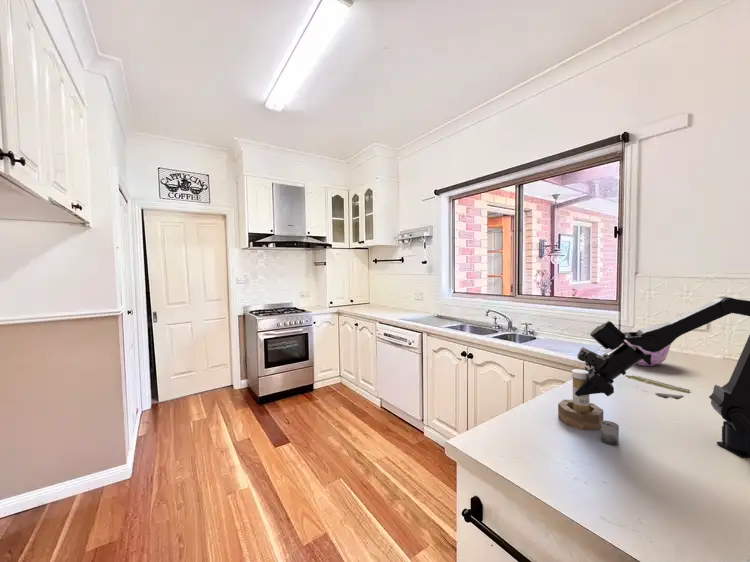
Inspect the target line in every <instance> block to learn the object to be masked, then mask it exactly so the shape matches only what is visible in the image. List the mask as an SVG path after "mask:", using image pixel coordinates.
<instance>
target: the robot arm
mask: <svg viewBox="0 0 750 562" xmlns="http://www.w3.org/2000/svg"><path fill="white" fill-rule="evenodd" d="M730 314H736V315H740V316H746V317H750V300H746V299H739V298H738V299H737V298H733V297H729V296H718V297H716V298H715V299H713V300H712V301H710V302H708V303H706V304H703V305H701V306H699V307H696V308H695V309H693V310H691V311H688V312H686V313H684V314H681V315H680V316H677V317H675V318H674V319H671V320H669V321H666V322H662V323H659V324H654V325H650V326H646V327H643V328H640V329H638V330H637V331H628V332H626V331H625V332H624V331H622V330H620V329H619V328H618V327H617V326H615V324H614V323H613V322H611V321H610V320H607V321H606V322H604V323H603V324H601V325H598V326H597V327H595V328H594V329H593V330H592V331H591V332H590V333H589V336H590V337H591V338H592V339H594V340H595V341H596V342H597V343H598V344H600V345H601V347H602V348H603V349H605V350H609V349H610V350H613V351H612V352H611V353H609V354H608V353H604V354H603V355H600V354H598V353H596V352H594V351H592V350H589V349H587V348H586V347H581V348H580V349H579V352H578V354H577V355H576V356H577V360H579V361H581V362H584V364H585V366H584V370H586V371H588V372H589V375H587V374H586V382H585V383H584V384H583V385H582V386H581V387H580V388H579V389H578V390H577V391H576V392H575V394H576V395H577V396H583V395H589V396H590V395H595V394H596V395H597V394H605V396H607V397H609V396H611V395H612V394H614V393H615V391H614V390H615V388H614V386H613V383H614V382H615V381H614V379H616V378H617V377H619V376H620V375H622V376H626V374H627V371H628V370H629V369H631V368H632V367H633V366H635V365H637V364H636V363H638V362H639V361H641V360H642V359H643V360H644V361H645V362H646V363H647V364H649V365H651V354H650V353H644V352H643V351H642V350H640V349H639V348H638V347H637V346H640V347H641V348H642V349H644V350H646V351H649V352H658V351H660V350H662V349H664V348H665V347H667V346H668V345H670V344H671V345H672V343H673V342H675V340H676V339H678V338H679V337H681V336H682V335H685V334H687V333H689V332H691V331H693V330H697V329H698V328H700V327H703V326H705V325H708V324H710V323H712V322H714V321H716V320H719V319H721V318H723V317H725V316H728V315H730ZM625 339H626V340H627V341H628V342H629V343H630V344H632V345H636V346H632V347H631V346H630V345H629V344H627V343H626V342H625V341H624V340H625ZM622 343H624V344H623V345H621V344H622ZM620 345H621V346H620ZM708 398H709V399H710V405H711V407H712V409H714V411H715V412H716V413H718V415H720V416H721V418H722V419H723V421H722V426H721V441H716V444H717V446H720V447H722V448H724V449H726V450H728V451H730V452H731V453H733V454H735V455H736V456H739V457H741V458H750V334H749V335H748V337H747V339H746V342H745V344H744V346H743V349H742V352H741V353H740V355H739V358H738V361H737V362H736V364H735V367H734V369H733V371H732V373H731V375H730V378H729V380H728V382H727V383H725V384H724V385H723V386H720V385H718V384H715V385H714V386H713V390H712V393H711V394H710V395H709V396H708Z"/></svg>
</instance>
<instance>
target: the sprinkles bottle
mask: <svg viewBox="0 0 750 562" xmlns="http://www.w3.org/2000/svg"><path fill="white" fill-rule="evenodd" d="M586 374H587V375H589V372H588V371H586V370H585V369H580V368H575V369H572V370H571V377H572V400H573V410H577V411H581V412H589V403H590V394H589V395H583V396H577V395H576V394H575V392H576V391H577V390H578V389H579V388H580V387H581V386H582V385H583V384H584V383H585V382H586Z"/></svg>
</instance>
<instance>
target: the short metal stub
mask: <svg viewBox="0 0 750 562" xmlns="http://www.w3.org/2000/svg"><path fill="white" fill-rule="evenodd" d="M619 428H620V426H619V424H618V423H616V422H614V421H610V420H603V421H601V428H600V442H601V443H603V444H605V445H608V446H610V447H618V446H619V444H620V441H619V439H620V438H619V437H620V436H619V435H620V429H619Z"/></svg>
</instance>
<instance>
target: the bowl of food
mask: <svg viewBox="0 0 750 562" xmlns="http://www.w3.org/2000/svg"><path fill="white" fill-rule="evenodd" d="M624 341H625V342H626V343H627V344H629V345H630V346H631V347H632V346H636V345H632V344H630V343H629V342H628V341H627V340H626V339H625V340H624ZM623 344H624V343H622V344H621V345H623ZM621 345H620V346H621ZM671 345H672V343H671V344H670V345H668V346H667V347H665V348H664V349H662V350H660V351H658V352H649V351H646V350H644V349H642V348H641V347H640V346H637V347H638V348H639V349H640V350H642V351H643V352H644V353H650V354H651V365H649V364H647V363H646V362H645V361H644V360H643V359H642V360H641V361H639V362H638V363H636V364H635V365H639V366H645V367H646V366H647V367H653V366H655V365H659V364H662V363H664V361H666V360H667V356H668V354H669V351H670V348H671ZM620 346H619V347H620Z"/></svg>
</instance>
